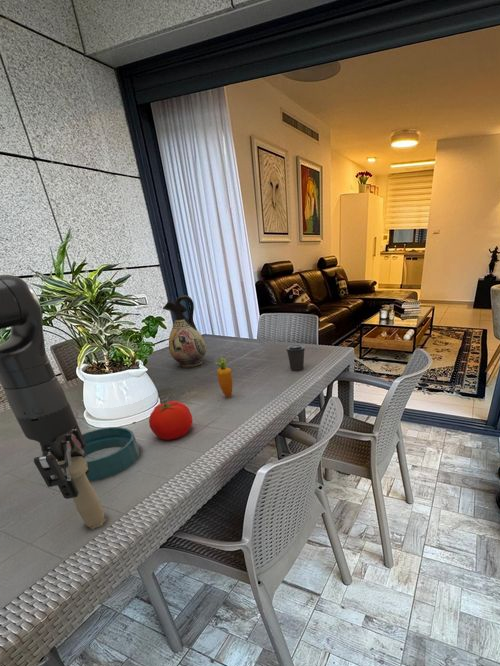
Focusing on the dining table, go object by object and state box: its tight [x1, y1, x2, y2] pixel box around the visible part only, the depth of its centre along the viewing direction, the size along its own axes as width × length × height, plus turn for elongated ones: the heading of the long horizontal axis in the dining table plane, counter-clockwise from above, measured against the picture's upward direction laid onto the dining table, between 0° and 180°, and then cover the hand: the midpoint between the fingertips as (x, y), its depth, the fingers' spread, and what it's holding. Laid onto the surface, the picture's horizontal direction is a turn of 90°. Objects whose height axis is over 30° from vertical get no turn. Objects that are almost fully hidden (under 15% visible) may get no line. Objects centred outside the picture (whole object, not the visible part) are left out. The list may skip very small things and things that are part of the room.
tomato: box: [148, 399, 193, 441], centre depth 101 cm, size 12×12×10 cm
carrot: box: [214, 356, 233, 399], centre depth 122 cm, size 5×5×15 cm
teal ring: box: [58, 426, 141, 482], centre depth 91 cm, size 17×17×6 cm
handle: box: [58, 456, 107, 530], centre depth 68 cm, size 5×6×15 cm
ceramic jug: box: [162, 294, 207, 368], centre depth 153 cm, size 17×15×30 cm
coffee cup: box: [285, 344, 306, 372], centre depth 147 cm, size 8×8×10 cm
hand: (78, 484), depth 67 cm, fingers open, 7 cm apart
